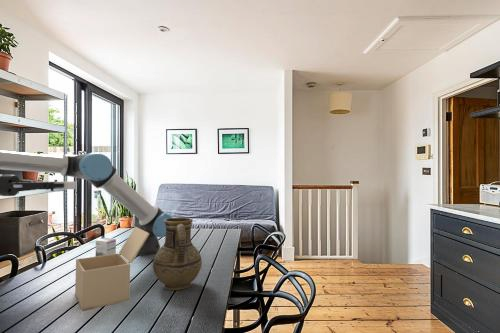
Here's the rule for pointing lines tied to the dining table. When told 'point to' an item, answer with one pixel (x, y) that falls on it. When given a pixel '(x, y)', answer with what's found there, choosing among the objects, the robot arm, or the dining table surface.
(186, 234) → the decorative pitcher
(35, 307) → the dining table surface
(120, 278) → the carton
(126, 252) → the lid flap
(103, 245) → the syrup box
